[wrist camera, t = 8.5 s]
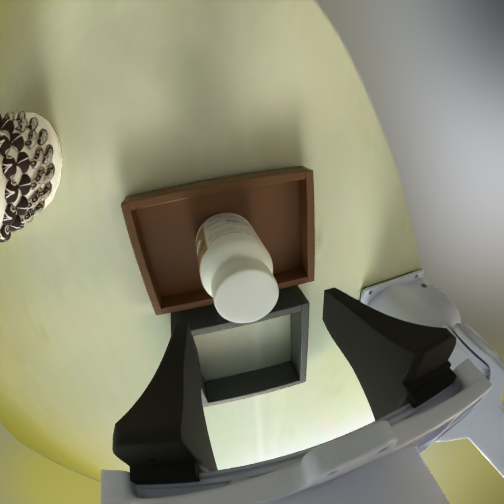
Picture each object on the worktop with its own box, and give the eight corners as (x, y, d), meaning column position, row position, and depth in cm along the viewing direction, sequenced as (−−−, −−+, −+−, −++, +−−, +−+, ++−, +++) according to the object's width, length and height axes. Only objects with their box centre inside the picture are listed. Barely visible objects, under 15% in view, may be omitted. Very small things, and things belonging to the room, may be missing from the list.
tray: (302, 166, 20) (313, 170, 18) (305, 269, 24) (314, 280, 23) (125, 196, 18) (120, 204, 16) (156, 301, 22) (155, 315, 21)
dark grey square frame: (296, 283, 25) (309, 302, 22) (296, 362, 30) (305, 381, 27) (170, 310, 23) (170, 333, 20) (199, 386, 28) (203, 407, 26)
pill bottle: (184, 228, 20) (188, 287, 13) (239, 200, 20) (270, 245, 13) (212, 274, 22) (228, 342, 15) (261, 248, 22) (298, 307, 15)
